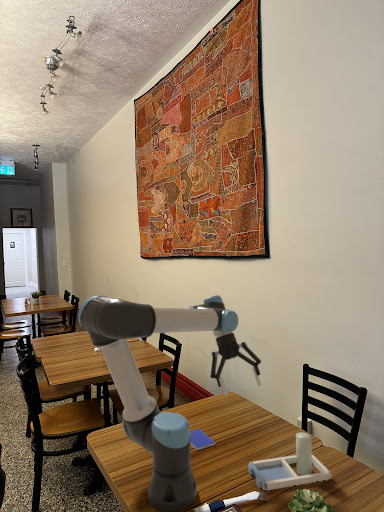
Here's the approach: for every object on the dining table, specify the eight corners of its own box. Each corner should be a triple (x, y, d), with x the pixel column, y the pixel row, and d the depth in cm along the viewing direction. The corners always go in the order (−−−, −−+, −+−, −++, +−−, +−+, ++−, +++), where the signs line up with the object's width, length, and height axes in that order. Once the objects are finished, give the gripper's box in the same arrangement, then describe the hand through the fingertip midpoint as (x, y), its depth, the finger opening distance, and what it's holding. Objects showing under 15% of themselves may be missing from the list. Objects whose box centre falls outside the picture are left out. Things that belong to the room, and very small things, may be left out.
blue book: (182, 433, 148) (197, 447, 137) (199, 428, 152) (215, 441, 141) (182, 437, 148) (197, 451, 137) (199, 432, 152) (215, 445, 141)
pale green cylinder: (307, 477, 119) (306, 441, 119) (293, 471, 123) (293, 435, 123) (314, 471, 123) (314, 436, 122) (301, 465, 126) (301, 430, 126)
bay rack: (260, 491, 113) (260, 485, 113) (246, 468, 125) (246, 462, 125) (331, 479, 118) (331, 473, 118) (311, 458, 130) (311, 452, 130)
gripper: (255, 324, 141) (275, 379, 136) (198, 343, 148) (215, 396, 142) (252, 324, 134) (273, 382, 129) (192, 345, 141) (209, 401, 135)
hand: (242, 390), depth 136 cm, fingers open, 13 cm apart
